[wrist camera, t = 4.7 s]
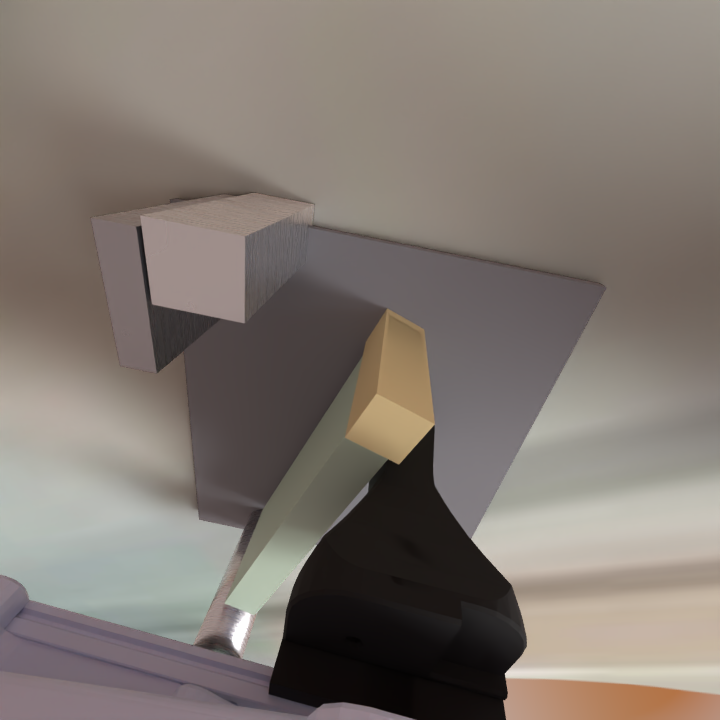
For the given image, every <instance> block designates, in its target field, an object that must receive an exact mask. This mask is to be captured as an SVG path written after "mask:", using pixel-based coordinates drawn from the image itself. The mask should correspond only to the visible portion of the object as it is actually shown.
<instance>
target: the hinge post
mask: <svg viewBox="0 0 720 720" xmlns="http://www.w3.org/2000/svg"><path fill="white" fill-rule="evenodd" d="M262 510H263V509H259V510H255V511H253V512H252V513H251V515H250V517H249V519H248V521H247V524H246V526H245V528H244V531H243V533H242V535H241V537H240V540H239V542H238V544H237V546H236V549H235V551H234V553H233V556H232V558H231V560H230V562H229V565H228V567H227V569H226V572H225V574H224V576H223V578H222V581H221V583H220V585H219V587H218V590H217V592H216V594H215V597H214V599H213V601H212V603H211V606H210V608H209V610H208V612H207V615H206V617H205V619H204V622H203V624H202V626H201V628H200V631H199V633H198V635H197V637H196V640H195V642H194V644H193V645H194V646H197V647H201V648H204V649H208V650H212V651H215V652H219V653H222V654H226V655H230V656H233V657H237V658H240V659H242V657H243V654H244V651H245V648H246V645H247V642H248V639H249V636H250V632H251V629H252V626H253V623H254V620H255V617H256V614H257V613H256V614H255V615H253V614H250V613H248V612H245V611H243V610H240V609H238V608H235V607H232V606H230V605H227V604H225V600H226V598H227V595H228V593H229V591H230V588H231V586H232V583H233V581H234V578H235V576H236V574H237V571H238V569H239V566H240V564H241V561H242V559H243V557H244V554H245V552H246V549H247V547H248V544H249V542H250V539H251V537H252V535H253V532H254V530H255V527H256V525H257V522H258V520H259V518H260V515H261V513H262Z"/></svg>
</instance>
